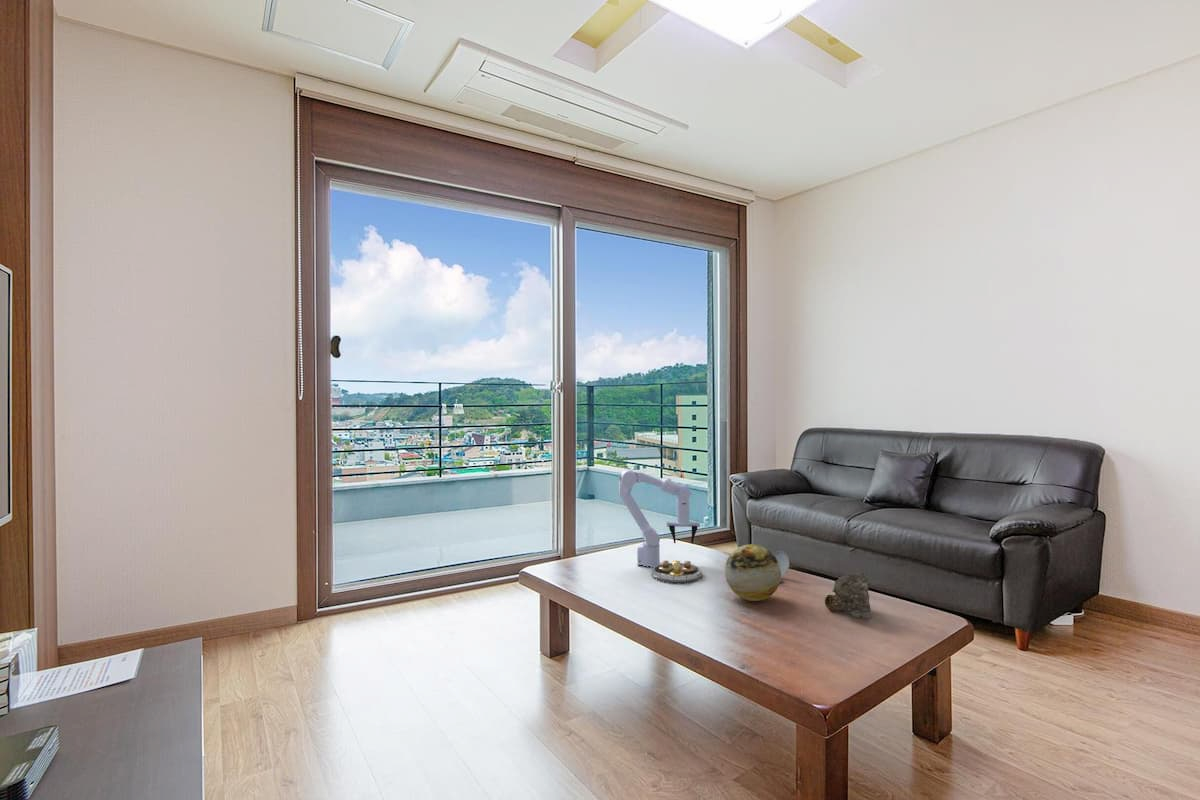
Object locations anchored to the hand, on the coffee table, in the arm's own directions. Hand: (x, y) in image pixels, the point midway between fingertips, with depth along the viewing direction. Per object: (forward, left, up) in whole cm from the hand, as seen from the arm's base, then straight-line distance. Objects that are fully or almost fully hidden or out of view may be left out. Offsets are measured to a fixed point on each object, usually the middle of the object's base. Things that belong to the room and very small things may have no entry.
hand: (683, 542), depth 270 cm
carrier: (+4, -18, -9) cm, 21 cm away
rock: (+73, -32, -10) cm, 80 cm away
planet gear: (+6, -23, -8) cm, 25 cm away
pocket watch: (+40, -7, -10) cm, 41 cm away
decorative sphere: (+40, -33, -10) cm, 53 cm away
